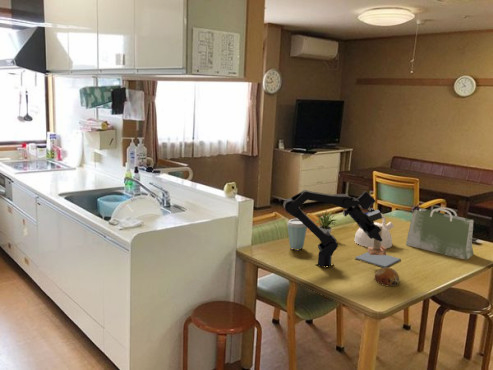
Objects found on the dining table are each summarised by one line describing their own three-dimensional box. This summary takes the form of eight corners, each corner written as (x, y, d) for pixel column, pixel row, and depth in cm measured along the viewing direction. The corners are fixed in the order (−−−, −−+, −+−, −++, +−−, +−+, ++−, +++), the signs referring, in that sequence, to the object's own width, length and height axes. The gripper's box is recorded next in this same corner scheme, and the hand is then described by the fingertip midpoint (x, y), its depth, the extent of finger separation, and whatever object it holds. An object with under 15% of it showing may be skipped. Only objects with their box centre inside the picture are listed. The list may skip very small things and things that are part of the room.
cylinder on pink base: (370, 254, 205) (372, 227, 202) (367, 251, 210) (369, 224, 207) (385, 255, 205) (388, 228, 202) (382, 251, 210) (384, 225, 207)
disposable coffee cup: (299, 253, 223) (301, 224, 221) (281, 248, 230) (283, 220, 227) (309, 248, 232) (311, 220, 229) (292, 243, 238) (293, 216, 235)
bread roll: (394, 286, 195) (393, 268, 197) (403, 286, 185) (402, 266, 187) (372, 286, 195) (371, 268, 197) (380, 285, 185) (379, 266, 187)
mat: (385, 268, 207) (385, 266, 207) (354, 258, 218) (355, 257, 218) (400, 260, 218) (400, 258, 218) (371, 252, 229) (371, 250, 229)
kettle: (397, 250, 235) (401, 217, 231) (358, 248, 235) (361, 215, 232) (386, 238, 255) (389, 208, 251) (350, 237, 255) (352, 206, 252)
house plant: (316, 242, 241) (318, 213, 238) (306, 235, 254) (308, 207, 251) (340, 241, 245) (342, 212, 242) (328, 234, 258) (331, 207, 255)
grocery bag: (474, 253, 233) (480, 211, 229) (467, 260, 223) (473, 215, 219) (413, 240, 253) (418, 200, 249) (404, 245, 243) (408, 204, 239)
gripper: (378, 209, 194) (400, 234, 196) (366, 200, 212) (387, 222, 214) (359, 226, 195) (381, 250, 197) (348, 215, 213) (369, 238, 216)
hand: (380, 239), depth 206 cm, fingers closed on cylinder on pink base, 3 cm apart
